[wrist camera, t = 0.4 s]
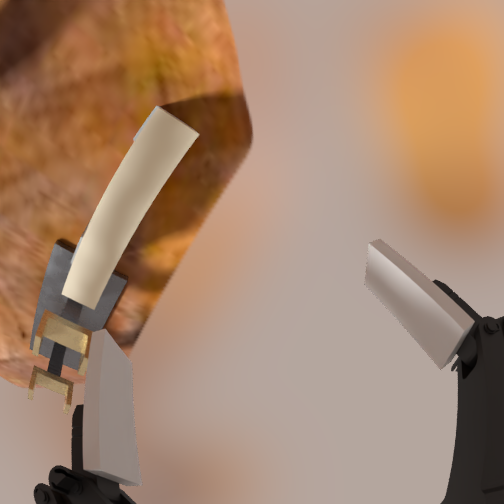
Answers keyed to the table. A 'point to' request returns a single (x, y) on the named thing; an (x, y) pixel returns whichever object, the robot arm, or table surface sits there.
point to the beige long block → (126, 204)
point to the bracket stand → (66, 324)
